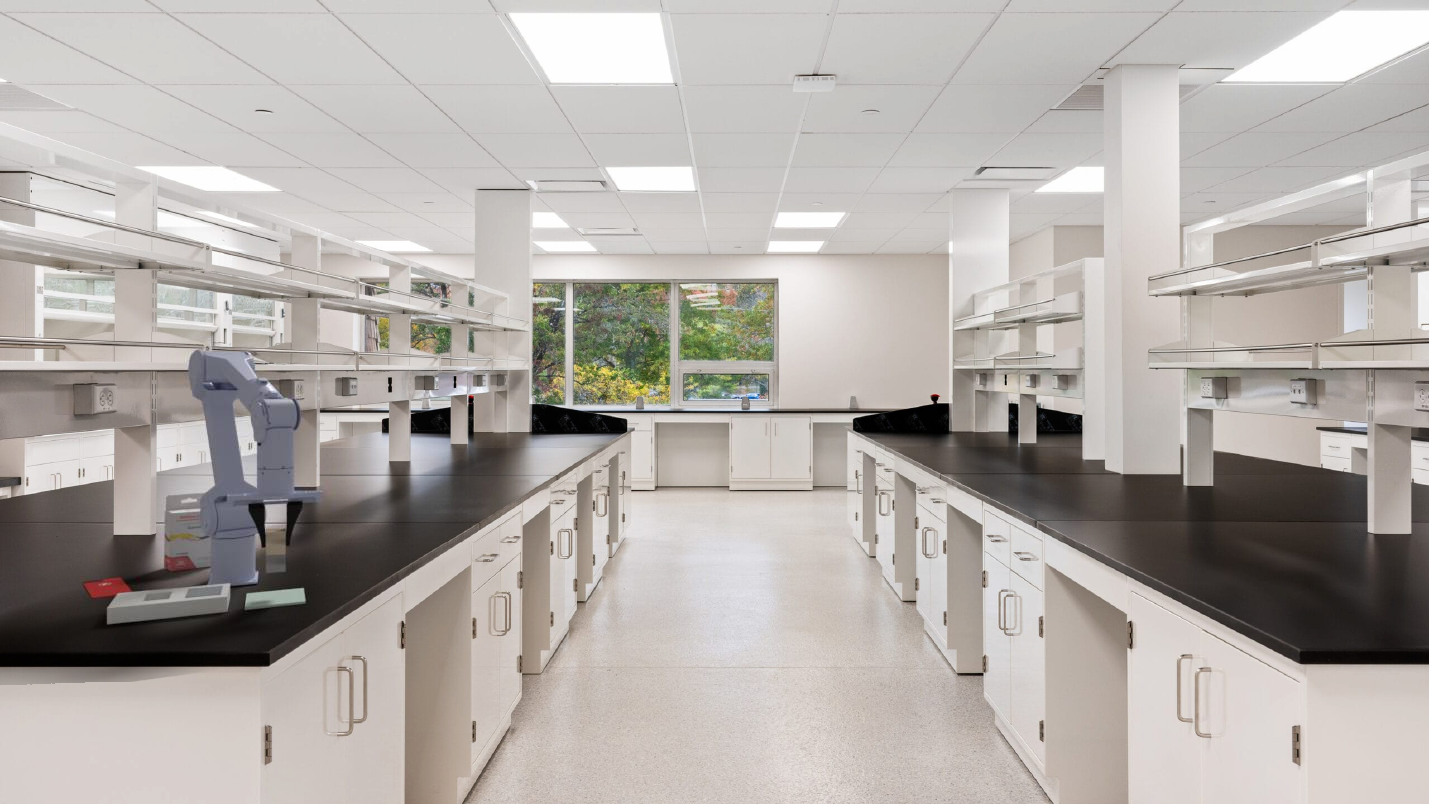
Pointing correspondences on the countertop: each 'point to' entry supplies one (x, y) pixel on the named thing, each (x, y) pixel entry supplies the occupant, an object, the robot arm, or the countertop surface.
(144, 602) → the white slotted tray
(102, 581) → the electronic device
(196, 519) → the ink cartridge box
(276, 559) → the plug
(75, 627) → the countertop surface
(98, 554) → the countertop surface
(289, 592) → the mat
